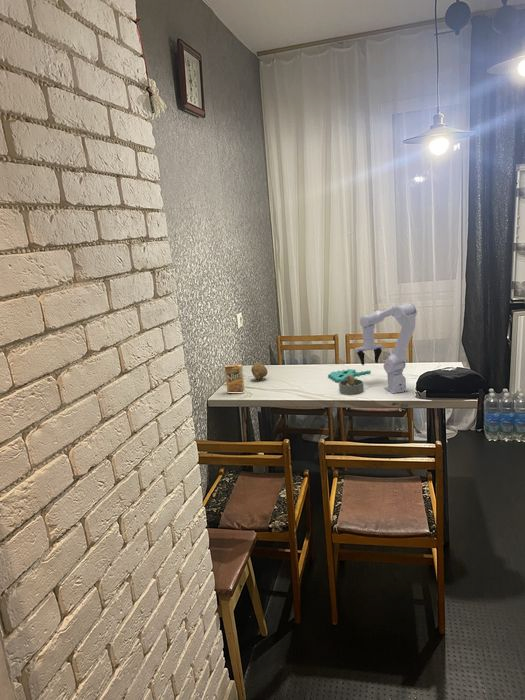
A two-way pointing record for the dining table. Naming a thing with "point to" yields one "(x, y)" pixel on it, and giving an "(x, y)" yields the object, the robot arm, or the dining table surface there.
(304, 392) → the dining table surface
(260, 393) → the dining table surface
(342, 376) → the alien figure
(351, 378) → the wood wick
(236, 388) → the candy box
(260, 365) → the natural sponge
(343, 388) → the grey round bowl
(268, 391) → the dining table surface
